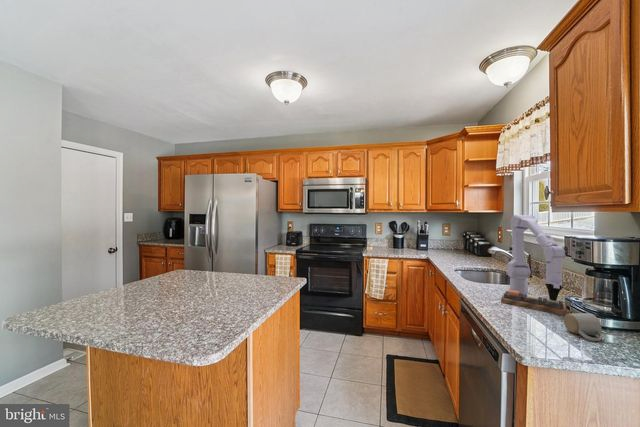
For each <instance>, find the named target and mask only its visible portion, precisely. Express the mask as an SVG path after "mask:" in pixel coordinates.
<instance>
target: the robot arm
mask: <svg viewBox="0 0 640 427" xmlns="http://www.w3.org/2000/svg"><path fill="white" fill-rule="evenodd" d="M510 230H511V243H512V245H511V247H512V249H511V250H512V260H510V261H509V262H507V267H506V274H507V275H508V277H509V289H510V290H516V291H520V293H521V294H523V295H524V294H525V295H527V294H529V295H531V294H530V292H529V281H528V278H530V276H531V269H530V264H529V263H528V262H526V260H525V240H524V239H525V238H524V237H525V236H524V234H525V231H528V230H529V231H530V232H531V233H532V234H533V235H534V236H535V237H536V242H537V243H538V245H539V246H540V247H541V248H542V249H543V251H542V252H543V255H544V260H545V261H546V262H545V264H546V265H545V278H542V282H545V284H544V285H545V286H546V289H547V293H548V298H550V300H554V301H556V300H558V297H559V293H560V292H561V291H562V289H563V287H562V284H563V259H564V258H566V256H567V254H566V255H565V250H564V248H565V246H563V245H560V244H559V243H557V242H556V241H555V239H553V237H552V235H550V234H547V233H544V231H543V230H542V228H541V227H540V225H539V224H538V219H537V218H536V216H534V215H533V214H532V215H531V214H530V215H528V214H527V215H525V214H514V215H513V216H512V217H511V218H510Z"/></svg>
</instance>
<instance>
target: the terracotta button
mask: <svg viewBox="0 0 640 427" xmlns="http://www.w3.org/2000/svg"><path fill="white" fill-rule="evenodd" d="M507 291H508V294H510V295H515V296H520V291H516V290H510V288H509V289H508V290H507Z"/></svg>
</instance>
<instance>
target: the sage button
mask: <svg viewBox="0 0 640 427" xmlns="http://www.w3.org/2000/svg"><path fill="white" fill-rule="evenodd" d="M546 298H547V302H553V303H558V304H559V300H560V299H557V300H556V301H554V300H550V298H549V297H546Z"/></svg>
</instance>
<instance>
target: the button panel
mask: <svg viewBox="0 0 640 427" xmlns="http://www.w3.org/2000/svg"><path fill="white" fill-rule="evenodd" d="M547 298H548V297H541V296H539V300H537V299H531V298H527V295H525V294H524V295H523V294H521V293H520V296H515V295H510V294H508V290H506V291H505V292H504V294H503V295H502V297H501V298H500V303H502V304H505V305H512V306H516V307H521V308H526V309H531V310H536V311H540V312H545V313H549V314H556V315H560V316H564V317H565V315H567V310H566V309H567V308H566V306H567V305H566V304H565V303H564V301H563V300H560V299H558V300H559V304H558V303H553V302H547Z"/></svg>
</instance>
